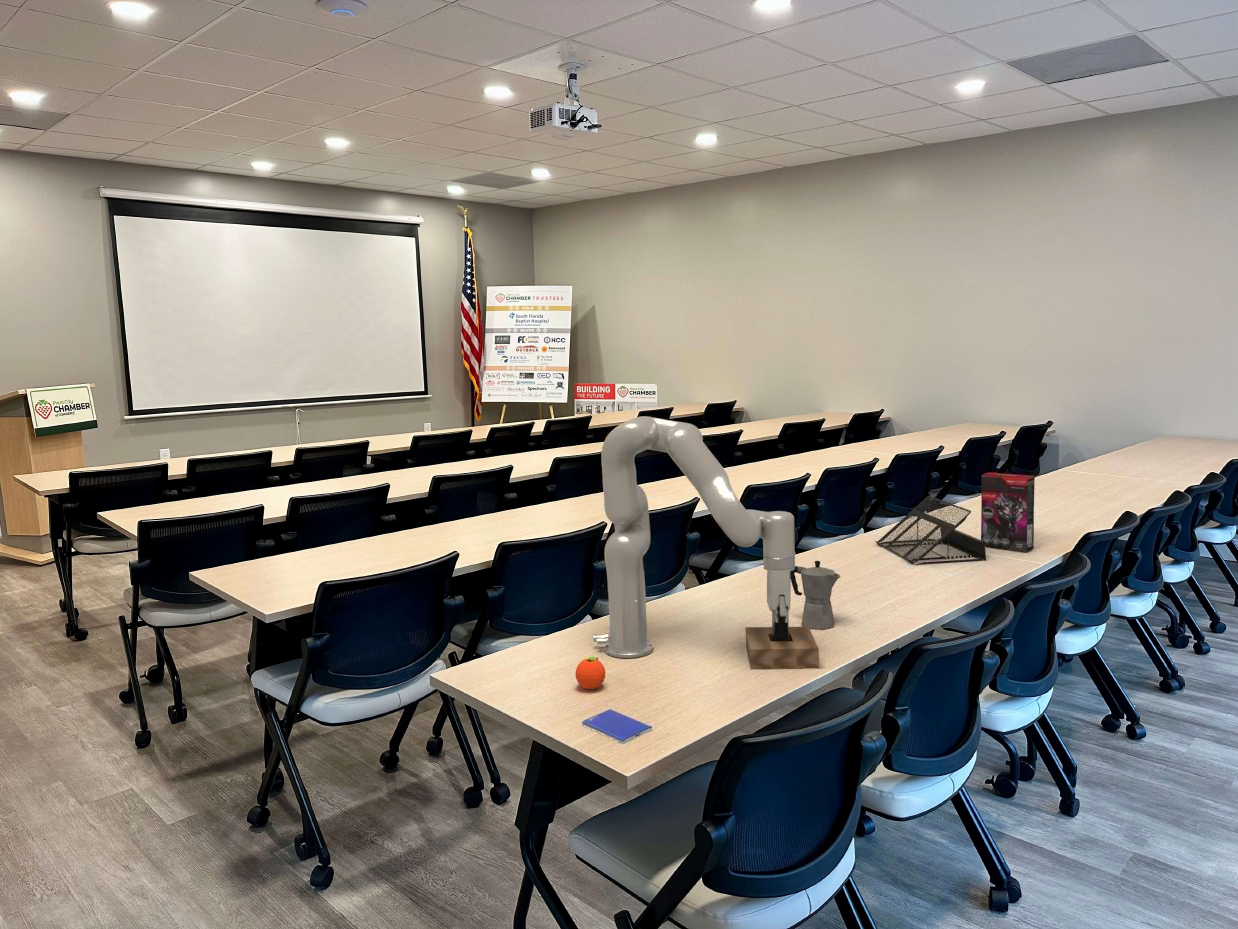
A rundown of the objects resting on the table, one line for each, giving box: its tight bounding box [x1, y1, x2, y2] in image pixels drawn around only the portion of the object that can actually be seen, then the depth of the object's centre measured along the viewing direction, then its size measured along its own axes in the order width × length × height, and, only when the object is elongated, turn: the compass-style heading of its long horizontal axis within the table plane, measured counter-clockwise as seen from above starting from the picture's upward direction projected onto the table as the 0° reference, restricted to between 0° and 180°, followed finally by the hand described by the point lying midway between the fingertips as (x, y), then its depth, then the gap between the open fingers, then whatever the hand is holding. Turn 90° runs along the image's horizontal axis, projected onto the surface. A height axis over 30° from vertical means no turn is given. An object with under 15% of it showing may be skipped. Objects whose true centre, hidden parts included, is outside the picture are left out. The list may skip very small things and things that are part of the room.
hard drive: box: [581, 708, 653, 745], centre depth 170 cm, size 2×8×12 cm
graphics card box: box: [980, 472, 1036, 553], centre depth 304 cm, size 17×7×27 cm, turn 43°
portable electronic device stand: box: [874, 495, 987, 566], centre depth 303 cm, size 33×28×18 cm
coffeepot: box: [790, 560, 841, 631], centre depth 229 cm, size 15×9×18 cm, turn 49°
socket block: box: [744, 626, 820, 670], centre depth 206 cm, size 16×16×5 cm
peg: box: [771, 608, 790, 641], centre depth 205 cm, size 4×4×12 cm
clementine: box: [574, 656, 606, 690], centre depth 192 cm, size 8×7×7 cm
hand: (780, 634), depth 205 cm, fingers closed on peg, 4 cm apart
